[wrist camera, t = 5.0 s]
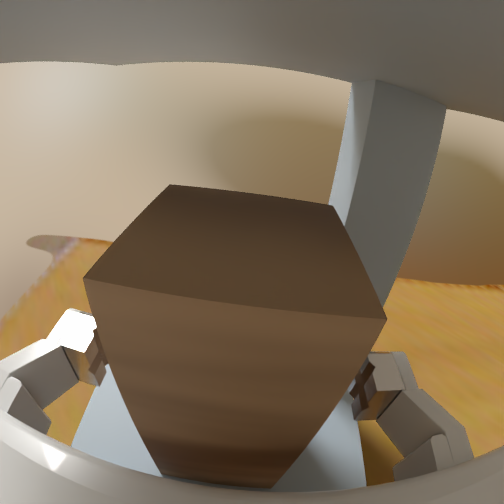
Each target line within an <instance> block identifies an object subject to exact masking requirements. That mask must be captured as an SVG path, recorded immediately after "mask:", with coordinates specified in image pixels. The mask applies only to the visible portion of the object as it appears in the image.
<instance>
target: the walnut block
mask: <svg viewBox="0 0 504 504" xmlns="http://www.w3.org/2000/svg"><path fill="white" fill-rule="evenodd" d="M83 281H84V285H85V289H86V293H87V297H88V301H89V304H90V308H91V311H92V315H93V318H94V322H95V325H96V328H97V331H98V335H99V338H100V341H101V344H102V347H103V350H104V352H105V355H106V358H107V361H108V364H109V366H110V369H111V371H112V374H113V377H114V379H115V382H116V384H117V387H118V389H119V391H120V394H121V396H122V399H123V401H124V403H125V405H126V408H127V410H128V412H129V414H130V416H131V418H132V421H133V423H134V425H135V427H136V429H137V431H138V433H139V435H140V437H141V439H142V441H143V443H144V445H145V446H146V448H147V450H148V452H149V454H150V456H151V458H152V459H153V461H154V463H155V465H156V466H157V468H158V470H159V471H160V473H161V474H164V475H168V476H173V477H178V478H183V479H188V480H193V481H199V482H206V483H212V484H220V485H228V486H238V487H250V488H267V489H271V488H272V487H273V486H274V485H275V484H276V483H277V482H278V481H279V479H280V478H281V477H282V476H283V475H284V474H285V473H286V471H287V470H288V469H289V468H290V467H291V465H292V464H293V463H294V462H295V461H296V459H297V458H298V457H299V456H300V454H301V453H302V452H303V451H304V449H305V448H306V447H307V446H308V444H309V443H310V442H311V440H312V439H313V438H314V436H315V435H316V434H317V432H318V431H319V430H320V428H321V427H322V426H323V424H324V423H325V421H326V420H327V419H328V417H329V416H330V414H331V413H332V411H333V410H334V409H335V407H336V406H337V404H338V403H339V401H340V400H341V398H342V397H343V395H344V394H345V392H346V390H347V389H348V387H349V386H350V384H351V383H352V381H353V379H354V378H355V376H356V374H357V373H358V371H359V369H360V368H361V366H362V364H363V363H364V361H365V359H366V358H367V356H368V354H369V352H370V351H371V349H372V347H373V345H374V343H375V342H376V340H377V338H378V336H379V334H380V332H381V330H382V328H383V326H384V325H385V323H386V321H387V317H386V315H385V312H384V310H383V308H382V305H381V303H380V301H379V298H378V296H377V294H376V292H375V289H374V287H373V285H372V283H371V281H370V278H369V276H368V274H367V272H366V270H365V268H364V266H363V263H362V261H361V259H360V257H359V255H358V253H357V251H356V249H355V247H354V245H353V243H352V241H351V239H350V237H349V235H348V233H347V231H346V229H345V227H344V225H343V223H342V221H341V219H340V218H339V216H338V214H337V212H336V210H335V208H334V206H332V205H326V204H320V203H313V202H308V201H302V200H295V199H288V198H281V197H274V196H267V195H260V194H253V193H245V192H237V191H228V190H219V189H210V188H201V187H191V186H181V185H169V186H168V187H167V188H166V189H165V190H164V191H163V192H161V193H160V194H159V195H158V197H156V199H154V200H153V201H152V202H151V203H150V205H148V206H147V208H145V209H144V211H143V212H142V213H141V214H140V215H139V216H138V217H137V218H136V219H135V220H134V221H133V222H132V223H131V224H130V225H129V226H128V227H127V229H125V230H124V232H123V233H122V234H121V235H120V236H119V237H118V238H117V239H116V240H115V241H114V242H113V244H112V245H111V246H110V247H109V248H108V249H107V250H106V251H105V253H104V254H103V255H102V256H101V257H100V258H99V259H98V261H97V262H96V263H95V264H94V265H93V267H92V268H91V269H90V270H89V271H88V272H87V274H86V275H85V276H84V277H83Z"/></svg>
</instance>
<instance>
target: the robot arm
mask: <svg viewBox="0 0 504 504" xmlns="http://www.w3.org/2000/svg"><path fill="white" fill-rule="evenodd" d="M107 364H108V361H107V358H106V355H105V352H104V350H103V347H102V344H101V341H100V338H99V335H98V331H97V328H96V325H95V322H94V318H93V315H92V314H91V313H87V312H84V311H80V310H76V309H73V308H70V309H68V310H66V312H65V313H64V315H63V316H62V317H61V319H60V320H59V321H58V323H57V324H56V326H55V327H54V328H53V330H52V331H51V333H50V334H49V336H48V337H47V339H46V340H45V339H41V340H39V341H37V342H35V343H33V344H31V345H29V346H27V347H26V348H24V349H22V350H20V351H18V352H16V353H14V354H12V355H10V356H8V357H7V358H5V359H3V360H1V361H0V504H504V445H503V446H501V447H499V448H497V449H495V450H492V451H490V452H488V453H485V454H483V455H481V456H478V457H476V458H474V456H473V453H472V450H471V446H470V443H469V440H468V437H467V434H466V431H465V428H464V426H462V425H461V424H460V423H459V422H458V421H457V420H456V419H455V418H454V417H453V416H451V415H450V414H449V413H448V412H447V411H446V410H445V409H444V408H443V407H442V406H441V405H439V404H438V403H437V402H436V401H435V400H434V399H433V398H432V397H431V396H429V395H428V394H427V393H426V392H425V391H424V390H423V389H419V388H418V386H417V383H416V380H415V377H414V375H413V372H412V369H411V367H410V364H409V361H408V359H407V356H406V354H405V353H404V352H369V354H368V356H367V358H366V359H365V361H364V363H363V364H362V366H361V368H360V369H359V371H358V373H357V374H356V376H355V378H354V379H353V381H352V383H351V384H350V386H349V387H348V389H349V394H350V395H351V396H352V397H353V398H354V400H353V402H352V404H351V407H352V412H353V418H354V421H361V420H376V422H377V423H378V424H379V425H380V427H381V428H382V429H383V431H384V432H385V433H386V434H387V436H388V437H389V438H390V440H391V441H392V442H393V443H394V445H395V446H396V447H397V449H398V450H399V451H400V452H401V454H402V455H403V456H404V459H402V460H401V461H400V462H398V463H397V464H395V466H394V467H393V474H394V481H395V482H390V483H384V484H379V485H373V486H366V487H359V488H351V489H342V490H330V491H314V492H263V491H247V490H235V489H226V488H218V487H210V486H204V485H198V484H192V483H186V482H181V481H176V480H172V479H167V478H163V477H159V476H155V475H151V474H147V473H143V472H140V471H136V470H133V469H130V468H126V467H123V466H120V465H117V464H114V463H111V462H108V461H105V460H103V459H100V458H97V457H95V456H92V455H89V454H87V453H84V452H82V451H80V450H77V449H75V448H73V447H70V446H68V445H66V444H64V443H61V442H59V441H57V440H55V439H53V438H51V437H49V436H47V435H46V434H47V432H48V429H49V427H50V425H51V421H50V418H49V417H48V416H47V415H46V414H45V412H44V411H43V409H44V408H45V407H47V406H48V405H49V404H51V403H52V402H53V401H54V400H56V399H57V398H58V397H60V396H61V395H62V394H64V393H65V392H66V391H67V390H69V389H70V388H71V387H73V386H74V385H75V384H77V383H78V382H79V381H82V382H85V383H88V384H92V385H95V386H98V387H100V385H101V383H102V381H103V379H104V377H105V375H106V373H107V371H106V367H105V366H106V365H107ZM78 380H79V381H78Z"/></svg>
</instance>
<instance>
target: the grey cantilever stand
mask: <svg viewBox="0 0 504 504" xmlns="http://www.w3.org/2000/svg"><path fill="white" fill-rule="evenodd" d="M27 61H28V62H29V61H30V62H31V61H61V62H84V63H97V64H108V65H123V64H124V65H125V64H136V63H152V62H186V61H187V62H220V63H235V64H247V65H258V66H266V67H274V68H281V69H288V70H294V71H300V72H305V73H311V74H316V75H321V76H326V77H330V78H334V79H339V80H343V81H347V82H351V83H352V86H351V92H350V98H349V104H348V111H347V116H346V121H345V127H344V132H343V138H342V143H341V148H340V153H339V158H338V163H337V168H336V173H335V177H334V182H333V187H332V191H331V196H330V200H329V204H328V205H332V206H334V208H335V210H336V212H337V214H338V216H339V218H340V219H341V221H342V223H343V225H344V227H345V229H346V231H347V233H348V235H349V237H350V239H351V241H352V243H353V245H354V247H355V249H356V251H357V253H358V255H359V257H360V259H361V261H362V263H363V266H364V268H365V270H366V272H367V274H368V276H369V278H370V281H371V283H372V285H373V287H374V289H375V292H376V294H377V296H378V298H379V301H380V303H381V305H382V308H383V306H384V304H385V301H386V299H387V297H388V295H389V293H390V290H391V288H392V286H393V283H394V281H395V279H396V276H397V274H398V272H399V269H400V267H401V264H402V262H403V259H404V257H405V254H406V251H407V249H408V246H409V244H410V241H411V238H412V235H413V233H414V230H415V227H416V224H417V221H418V218H419V215H420V212H421V209H422V205H423V202H424V199H425V196H426V193H427V189H428V186H429V182H430V179H431V175H432V171H433V168H434V164H435V160H436V156H437V152H438V147H439V143H440V139H441V133H442V129H443V124H444V119H445V113H446V109H450V110H456V111H461V112H466V113H471V114H475V115H479V116H483V117H487V118H491V119H495V120H499V121H503V122H504V0H0V63H10V62H27ZM106 371H107V373H106V375H105V377H104V379H103V381H102V383H101V385H100V387H98V386H96V388H95V390H94V392H93V395H92V397H91V399H90V401H89V404H88V406H87V408H86V411H85V413H84V415H83V418H82V420H81V422H80V425H79V427H78V430H77V432H76V434H75V437H74V439H73V442H72V445H71V447H73V448H75V449H77V450H80V451H82V452H84V453H87V454H89V455H92V456H95V457H97V458H100V459H103V460H105V461H108V462H111V463H114V464H117V465H120V466H123V467H126V468H130V469H133V470H136V471H140V472H143V473H147V474H151V475H155V476H159V477H163V478H167V479H172V480H176V481H181V482H186V483H192V484H198V485H204V486H210V487H218V488H226V489H235V490H247V491H263V492H314V491H330V490H342V489H351V488H359V487H366V477H365V469H364V462H363V455H362V448H361V441H360V435H359V429H358V423H357V421H354V418H353V412H352V407H351V404H352V402H353V397H352V396H351V395H350V394H349V389H347V390H346V392H345V394H344V395H343V397H342V398H341V400H340V401H339V403H338V404H337V406H336V407H335V409H334V410H333V411H332V413H331V414H330V416H329V417H328V419H327V420H326V421H325V423H324V424H323V426H322V427H321V428H320V430H319V431H318V432H317V434H316V435H315V436H314V438H313V439H312V440H311V442H310V443H309V444H308V446H307V447H306V448H305V449H304V451H303V452H302V453H301V454H300V456H299V457H298V458H297V459H296V461H295V462H294V463H293V464H292V465H291V467H290V468H289V469H288V470H287V471H286V473H285V474H284V475H283V476H282V477H281V478H280V479H279V481H278V482H277V483H276V484H275V485H274V486H273V487H272V488H271V489H267V488H250V487H238V486H228V485H220V484H212V483H206V482H199V481H193V480H188V479H183V478H178V477H173V476H168V475H164V474H161V473H160V471H159V470H158V468H157V466H156V465H155V463H154V461H153V459H152V458H151V456H150V454H149V452H148V450H147V448H146V446H145V445H144V443H143V441H142V439H141V437H140V435H139V433H138V431H137V429H136V427H135V425H134V423H133V421H132V418H131V416H130V414H129V412H128V410H127V408H126V405H125V403H124V401H123V399H122V396H121V394H120V391H119V389H118V387H117V384H116V382H115V379H114V377H113V374H112V371H111V369H110V366H109V364H107V365H106Z"/></svg>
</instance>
